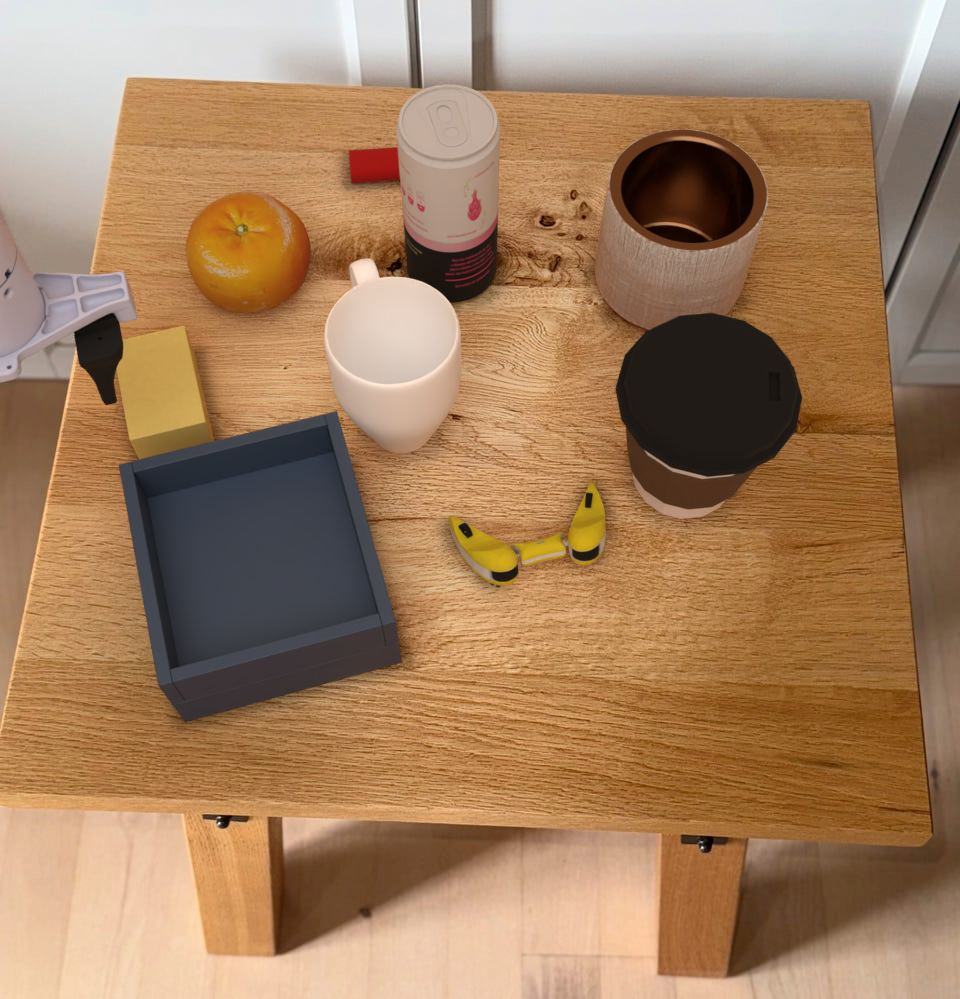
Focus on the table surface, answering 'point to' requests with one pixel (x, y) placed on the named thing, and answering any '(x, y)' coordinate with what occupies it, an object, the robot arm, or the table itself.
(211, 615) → the bin
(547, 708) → the table surface
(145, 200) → the table surface
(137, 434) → the notepads
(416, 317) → the mug
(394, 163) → the lighter
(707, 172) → the planter
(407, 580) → the table surface
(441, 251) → the beverage can
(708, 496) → the coffee cup
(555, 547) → the game controller
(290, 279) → the fruit
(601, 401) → the table surface
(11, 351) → the robot arm
